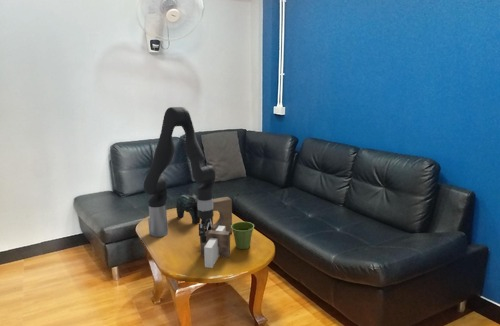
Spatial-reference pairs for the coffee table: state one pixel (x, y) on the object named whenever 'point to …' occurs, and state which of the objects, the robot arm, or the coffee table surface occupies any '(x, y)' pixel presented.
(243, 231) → the plant pot
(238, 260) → the coffee table surface
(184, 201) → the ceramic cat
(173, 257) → the coffee table surface
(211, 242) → the white notched plate
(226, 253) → the walnut notched plate
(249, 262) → the coffee table surface
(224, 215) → the decorative block
